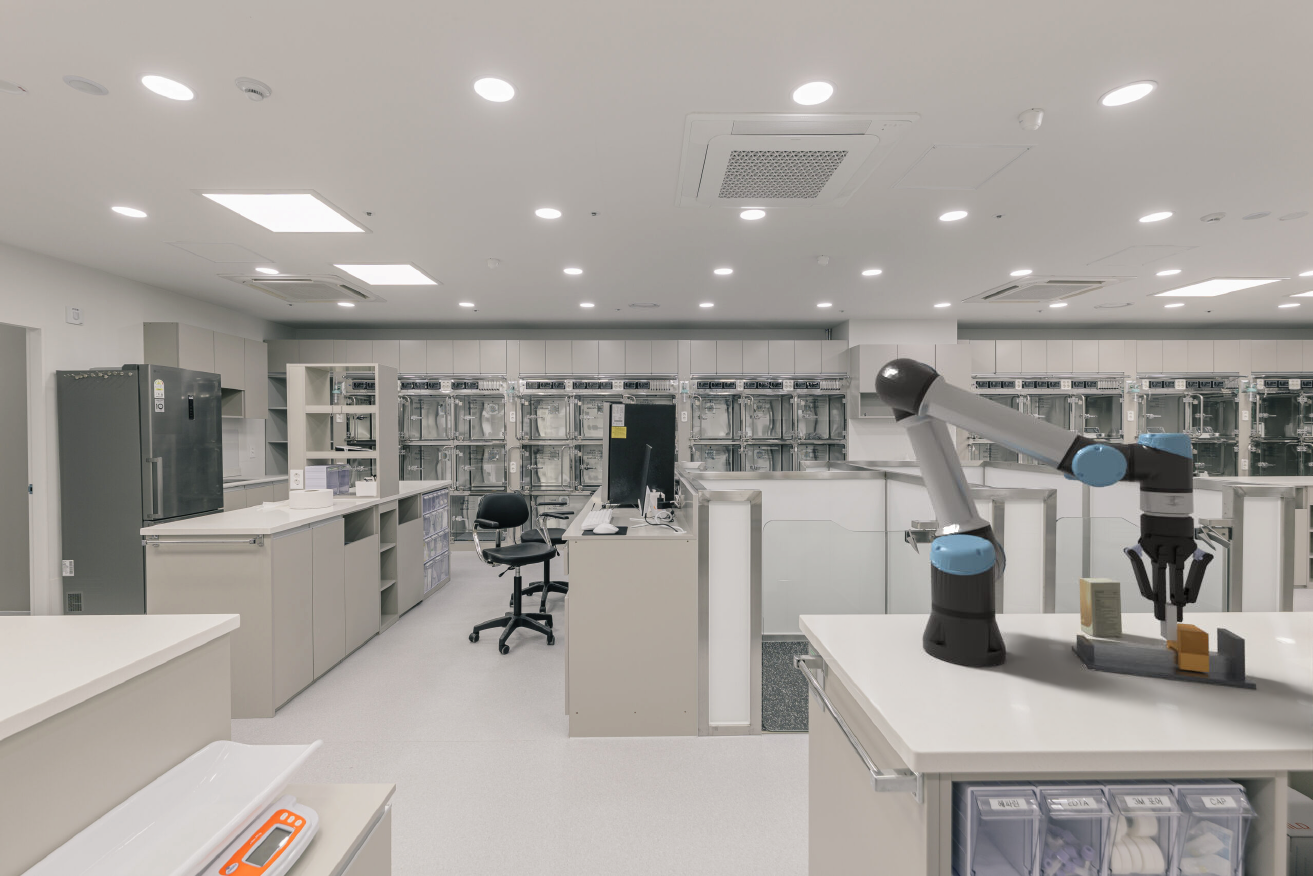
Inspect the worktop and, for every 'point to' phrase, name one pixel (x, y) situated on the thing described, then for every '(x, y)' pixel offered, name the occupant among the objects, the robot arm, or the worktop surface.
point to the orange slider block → (1191, 648)
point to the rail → (1166, 672)
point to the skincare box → (1100, 607)
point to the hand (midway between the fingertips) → (1168, 638)
